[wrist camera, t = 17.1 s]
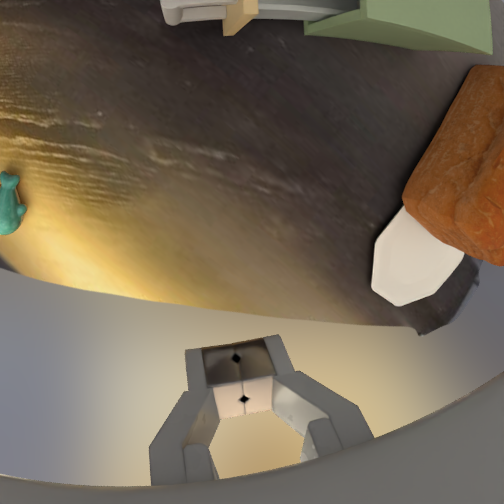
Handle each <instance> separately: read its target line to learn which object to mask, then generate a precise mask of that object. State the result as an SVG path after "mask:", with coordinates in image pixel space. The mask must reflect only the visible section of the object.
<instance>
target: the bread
mask: <svg viewBox="0 0 504 504" xmlns="http://www.w3.org/2000/svg"><path fill="white" fill-rule="evenodd" d="M402 200H403V203H404V206H405V209H406V212H408V213H409V214H410V215H411V216H412V217H413V218H414V219H415V220H416V221H417V222H419V223H420V224H421V225H422V226H423V227H424V228H425V229H426V230H427V231H428V232H429V233H430V234H431V235H432V236H434V237H435V238H437V239H438V240H440V241H441V242H442V243H445V244H447V245H449V246H452V247H454V248H456V249H458V250H460V251H462V252H464V253H466V254H468V255H470V256H472V257H475V258H477V259H480V260H485V261H487V262H489V263H491V264H493V265H497V266H504V66H495V65H475V66H474V67H473V68H471V70H470V72H469V74H468V75H467V77H466V79H465V81H464V83H463V85H462V87H461V89H460V91H459V92H458V94H457V96H456V98H455V99H454V101H453V103H452V105H451V106H450V108H449V110H448V112H447V114H446V116H445V118H444V120H443V122H442V124H441V126H440V128H439V130H438V131H437V133H436V135H435V136H434V138H433V140H432V142H431V143H430V145H429V147H428V148H427V150H426V152H425V153H424V155H423V156H422V158H421V160H420V161H419V163H418V164H417V166H416V168H415V169H414V171H413V173H412V175H411V176H410V178H409V180H408V182H407V184H406V186H405V189H404V192H403V194H402Z"/></svg>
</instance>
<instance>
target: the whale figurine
mask: <svg viewBox="0 0 504 504" xmlns="http://www.w3.org/2000/svg"><path fill="white" fill-rule="evenodd" d="M0 180H1V188H0V234H1V235H7V234H11V233H13V232H14V231H15V230H17V228H18V227H19V226H20V225H21V223H22V220H23V214H24V213H25V212H26V211H27V206H26V205H25V204H21V203H20V199H19V195H18V192H17V190H16V186H17V184H18V183H19V181H20V176H19V175H11V174H8V173H7V172H6V171H3V172H1V174H0Z"/></svg>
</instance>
